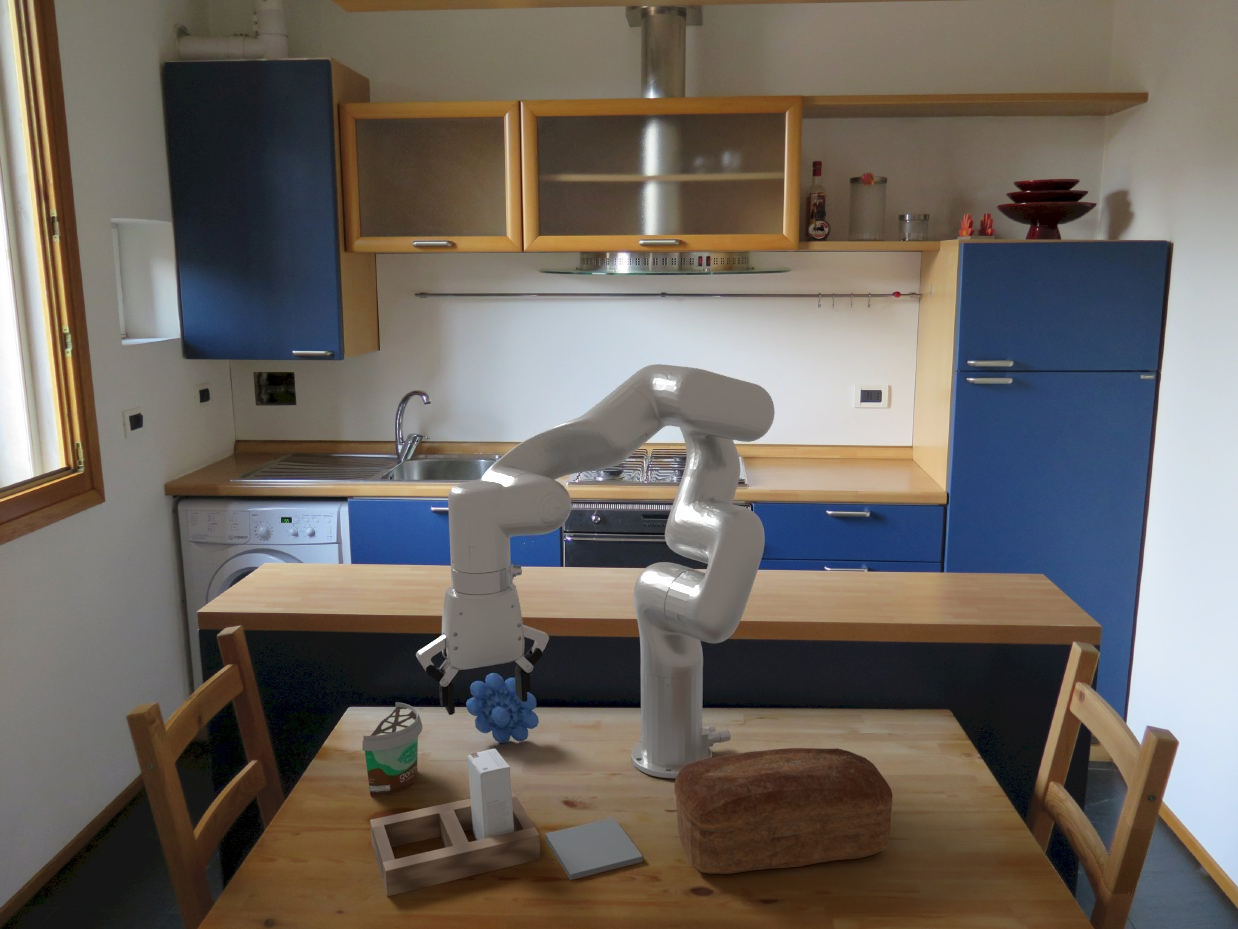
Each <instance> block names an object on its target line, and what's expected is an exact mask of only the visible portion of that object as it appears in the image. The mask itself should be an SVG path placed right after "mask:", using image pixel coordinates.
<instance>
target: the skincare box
mask: <svg viewBox="0 0 1238 929" xmlns="http://www.w3.org/2000/svg"><path fill="white" fill-rule="evenodd" d="M466 758H467V769H468V770H467V772H468V773H467V774H468V783H469V795H470V796H469V797H470V798H471V811H472V824H473V829H472V831H473V832H472V834H473V836H474V838H475V841H477V840H481V839H485V838H490V837H494V836H498V835H503V834H507V833H511V832H514V823H513V807H512V791H511V790H512V781H511V780H512V778H511V766H510V765H509V764H508V763H507V761H506V760H505V759H504V757H503V756H502V755H501V754H500V753H499V751H498V750H497V749H496V748H489V749H486V750H483V751H478V752H475V753H471V754H467V756H466ZM470 798H469V799H470Z"/></svg>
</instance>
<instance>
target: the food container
mask: <svg viewBox="0 0 1238 929" xmlns="http://www.w3.org/2000/svg"><path fill="white" fill-rule="evenodd" d="M394 705H395V709H393V711H392V713H390V714H389V715H388V716H386V717H384V719H382V720H381V721H380V723H378V725H377V726H376V728H375V730H374V731H373V732H372V733H371V734H370V735H363V736H362V738H363V740H362V751H364V756H365V761H366V762H365V763H366V765H365V766H366V771H367V780H368V786H369V787H368V788H369V796H370V795H371V796H372V797H374V796H375V797H381V796H382V795H383V796H391V795H394V793H395V794H398V792H399V793H401V792H403V791H405V789H406V790H408V789H409V788H411V787H412V786H413V785H414V784H415V783H416V781H417V779H418V756H419V755H418V751H419V750H418V749H419V745H418V743H419V735H420V734H421V733H422V731H423V723H422V719H421V716H420V714H419V713H418V710H417V709H416V708H415V707H414V706H411V705H410V704H407V703H403V702H399V701H397V702H395V703H394Z"/></svg>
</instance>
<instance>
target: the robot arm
mask: <svg viewBox="0 0 1238 929" xmlns="http://www.w3.org/2000/svg"><path fill="white" fill-rule="evenodd" d="M774 419H775V405H774V401H773V398H772V396H771V395H770V393H769V392H768V391H767V390H766V389H765V388H764V387H763V386H761V385H760V384H757V383H753V382H749V381H746V380H741V379H737V378H734V377H730V376H727V375H723V374H720V373H716V372H713V371H710V370H706V369H704V368H703V369H702V368H698V367H697V368H696V367H688V366H682V365H681V366H679V365H672V364H671V365H670V364H660V363H659V364H650V365H646V366H644V367H642V368H639V369H638V370H637V371H636V372H635V373H633V374H632V375H631V376H630V377H629V378H627V379H626V380H624V381H623V382H622V383H621V384H620V385H618V386H617V387H616V388H615V389H614V390H612V391H611V392H610V393H609V394H607V395H606V396H605V397H604V398H603V399H601V400H600V401H599V402H598V403H596V404H595V405H594V406H592V408H589V409H588V411H586V412H585V413H584V414H582V415H580V416H579V417H576V418H573V419H571V420H568V421H566V422H565V421H564V422H563V423H561V424H558V425H556V426H554V427H552V428H550V429H546V430H544V431H542V432H539V433H537V434H535V435H533V436H531V437H529V438H527V439H525V440H524V441H521V442H519V444H517V445H516V446H514V447H512V448H511V449H510V450H509V451H508V452H506V453H505V454H504V455H503V456H501V457H500V458H499V459H497V460H496V461H495V462H494V463H493V464H492V465H491V466H489V467H488V469H487V470H486V471H485V472H484V473H483V475H481V478H480V479H479V480H470V481H469V480H468V481H464V482H461V483H458V484H455V485H454V486H452V488H451V489H450V491H449V492H448V497H447V500H448V501H447V502H448V503H447V505H448V506H447V507H448V529H449V530H448V531H449V533H448V534H449V548H450V549H449V552H450V577H451V587H448V588H446V589H445V592H444V598H443V604H442V616H441V635H440V636H439V637H437V638H436V639H434V640H433V641H431V642H430V643H429V644H427V645H425V646H423V647H422V648H420V649H419V650H418V651H417V652H416V653H415V656H416V658H417V660H418V662H419V663H420V665H421V666H422V668H423V669H424V671H425V673H426V674H427V675H428V677H430V678H432V679H433V680H434V681H436V682H437V683H438V688H439V690H438V692H439V702H440V707H441V708H445V710H446V712H447V714H448V715H449V716H451V715H454V714H455V713H456V708H455V707H456V706H455V704H456V703H455V687H454V684H453V683H452V680H453V679H454V677H455V676H456V675H457V674H458V672H459V671H461V670H463V671H464V670H471V669H477V668H484V667H490V666H495V665H502V664H506V663H507V664H509V663H513V662H515V663H516V665H515V667H514V678H515V689H516V694H517V696H518V697H519V699H520V700H521V701H523V702H526V701H527V692H528V693H530V692H531V672H532V671H533V669H534V666H535V665H536V664H537V663H538V662H539V660H540V659H541V658H542V656H543V653H544V650H545V649H546V646H547V644H548V642H549V640H550V636H549V635H548V634H547V632H545V631H543V630H539V629H537V628H534V627H531V626H528V625H525V624H524V622H523V616H522V614H523V613H522V609H521V608H522V607H521V602H520V598H519V593H518V589H517V586H516V585H515V582H514V578H516V577H518V576H522V573H523V572H522V571H523V570H522V569H523V568H522V566H521V565H520V564H518V565H515V564H513V563H511V560H512V559H511V538H512V537H517V536H519V537H520V536H541V535H546V534H550V533H552V532H555V531H557V530H558V529H560V528H561V527H562V526H564V524H565V523H566V522H567V520H568V519H569V517H570V514H571V512H572V511H571V510H572V498H571V495H570V494H569V493H570V492H569V491H568V490H567V488H566V487H565V486H564V485H563V484H562V483H561V482H559V481H558V479H560V478H563V477H566V476H570V475H573V474H578V473H579V474H580V473H586V472H588V473H589V472H595V471H600V470H606V469H609V468H613V467H616V466H620V465H621V464H623V463H624V462H625V461H626V460H627V459H629V458H630V457H631V456H632V455H633V454H634V453H636V452H637V451H638V450H639V449H640V448H641V447H642V446H643V445H644V444H646V443H647V442H648V441H649V440H650V439H651V438H653V437H654V436H655V435H656V434H658V433H659V432H660V431H661V430H662V429H664V428H665V427H669V426H670V427H675V428H679V429H680V432H681V435H682V437H683V439H684V443H685V444H684V445H685V450H686V459H685V466H684V469H683V474H682V477H681V480H680V482H679V486H678V488H677V490H676V491H677V492H676V494H675V497H674V500H673V503H672V506H671V509H670V512H669V516H668V518H667V522H666V524H665V530H664V540H665V542H666V545H667V546H668V548H669V549H670V550H671V551H672V552H674V553H676V554H678V555H680V556H681V557H684V558H687V559H691V560H694V561H697V562H701V563H703V564H706V565H707V567H706V571H705V572H703V571H701V570H698V569H694V568H691V567H689V566H684V565H682V564H679V563H674V562H669V561H666V562H665V561H662V562H655V563H653V564H650V565H648V566H646V567H645V568H644V569H643V570H642V571H641V572H640V573H639V575H638V577H637V578H636V581H635V583H634V588H633V604H634V605H633V607H634V612H635V615H636V621H637V625H638V632H639V643H640V645H639V646H640V740H639V741H638V742H637V743H635V744H634V746H633V747H632V748H631V753H630V756H631V757H630V759H631V763H632V764H633V765H634V767H635V768H636V769H638V770H639V771H641V772H643V773H644V774H646V775H649V776H653V777H657V778H660V779H661V778H663V779H676V777H677V775H678V773H679V771H680V770H681V769H682V768H683V767H684V766H686V765H687V764H690V763H693V762H696V761H699V760H703V759H706V758H711V757H713V752H712V749H711V748H710V747H713V746H714V744H717V743H720V744H721V743H726V742H729V741H730V740H731V737H732V736H731V731H730V730H729V729H728V728H722V729H718V730H717V729H716V726H715V725H713V724H711V725H706V726H704V727H703V690H704V689H703V682H704V681H703V679H704V677H703V676H704V675H703V674H704V673H703V672H704V671H703V670H704V669H703V668H704V667H703V666H704V656H703V654H704V653H703V647H702V642H705V643H709V644H718V643H719V644H720V643H722V642H725V641H726V640H728V639H729V638H730V637H731V636H732V635H733V634H734V633H735V632H736V630H737V628H738V626H739V624H740V622H741V620H742V618H743V616H744V612H745V610H746V608H747V607H746V606H747V603H748V601H749V597H750V595H751V591H752V588H753V586H754V583H755V580H756V577H757V574H758V571H759V567H760V564H761V562H762V558H763V554H764V551H765V550H764V549H765V542H766V541H765V540H766V538H765V536H766V535H765V529H764V525H763V523H762V520H761V519H760V517H759V515H757V513H756V512H754V511H752V509H749V508H748V507H744V506H741V505H737V504H733V503H734V499H735V496H736V492H737V488H738V485H739V481H740V477H741V462H740V456H739V453H738V449H737V447H736V444H735V442H734V441H737V442H742V443H743V442H744V443H745V442H746V443H749V442H755V441H758V440H759V439H761V438H762V437H764V436H765V435H766V434H767V433H768V432H769V430H770V429H771V427H772V425H773V423H774ZM525 638H527V639H529V640H532V641H534V642H533V645H532V646H531V647H530V649H528V651H527V652H526V653H525ZM440 652H441V653H442V656H443V658H444V659H445V660H444V661H443V662H442V664H441V665H440V667H438V666H437V665H436V664H434V663H433V662H432V659H433V657H434V656H435V655H437V654H439V653H440Z"/></svg>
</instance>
